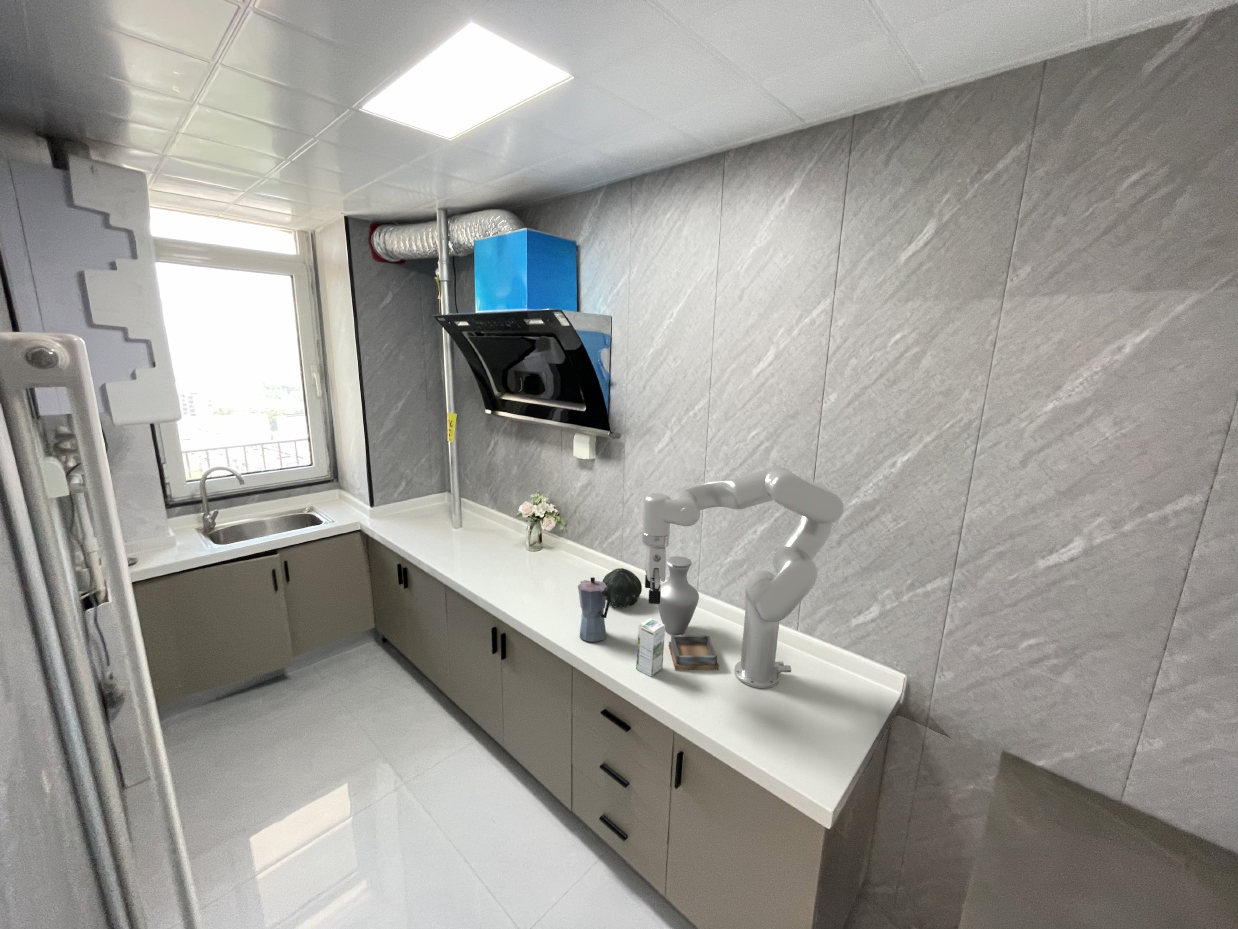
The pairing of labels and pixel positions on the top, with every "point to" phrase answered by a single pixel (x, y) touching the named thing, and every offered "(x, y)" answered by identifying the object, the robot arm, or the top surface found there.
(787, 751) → the top surface
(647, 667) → the syrup box
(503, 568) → the top surface
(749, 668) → the robot arm
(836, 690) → the top surface
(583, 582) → the moka pot
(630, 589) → the squash
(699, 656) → the dock
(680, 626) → the vase
